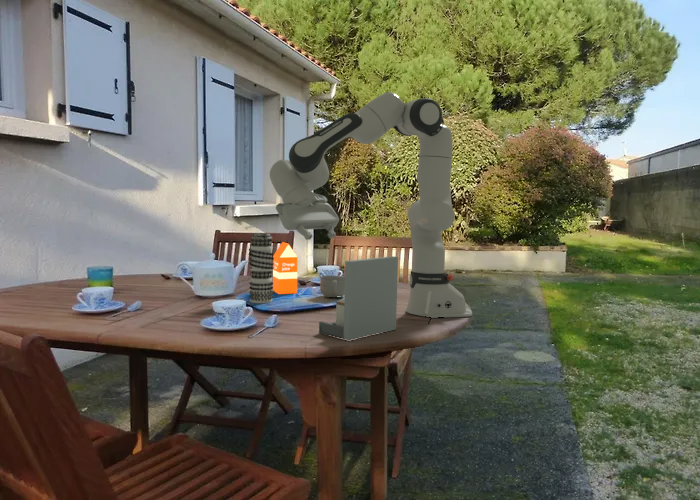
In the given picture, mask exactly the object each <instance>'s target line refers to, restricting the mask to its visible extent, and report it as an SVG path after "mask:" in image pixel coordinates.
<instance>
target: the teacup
mask: <svg viewBox="0 0 700 500" xmlns="http://www.w3.org/2000/svg"><path fill="white" fill-rule="evenodd" d="M319 277H320V281H319V283H320V284H319V288H320V289H319V291H320V293H321V294H322V295H323V296H324V297H325V298H329V297H337V296H342V297H344V296H345V276H342V275H328V274H326V275H321V276H319Z"/></svg>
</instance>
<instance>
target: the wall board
mask: <svg viewBox="0 0 700 500" xmlns="http://www.w3.org/2000/svg"><path fill="white" fill-rule="evenodd" d="M344 263H345V264H344V267H345V268H344V277H345V295H344V297H343V299H344V327H342V326H338V325H336V321H333V322H325V321H319V322H318V323H319V324H318V334H319V333H322V334H321V335H323V334H326V335H331V336H335V337H339V338H343V339H347V340H351V339H355V338H359V337H363V336H367V335H372V334H376V333H381V332H386V331H391V330H395V329H396V330H397V304H398V300H397V299H398V273H399V272H398V271H399V270H398V269H399V256H393V255H392V256H385V257H373V258H372V257H371V258H363V259H353V260H346V261H344ZM396 330H395V331H396ZM391 332H392V331H391ZM326 335H325V336H326Z"/></svg>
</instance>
